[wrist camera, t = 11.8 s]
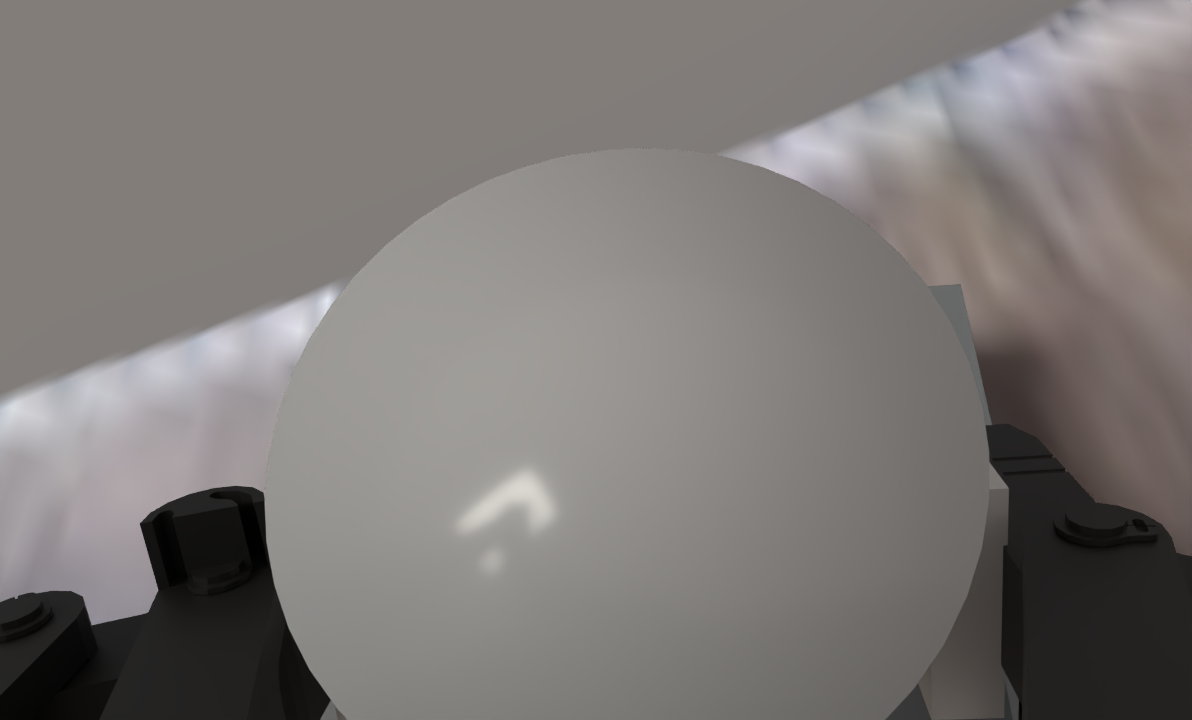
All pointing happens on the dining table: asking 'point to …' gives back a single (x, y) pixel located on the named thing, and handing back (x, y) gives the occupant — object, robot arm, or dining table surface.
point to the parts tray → (913, 711)
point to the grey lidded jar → (628, 457)
